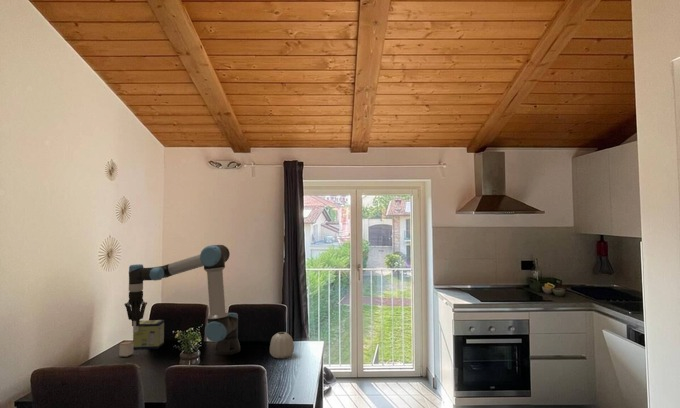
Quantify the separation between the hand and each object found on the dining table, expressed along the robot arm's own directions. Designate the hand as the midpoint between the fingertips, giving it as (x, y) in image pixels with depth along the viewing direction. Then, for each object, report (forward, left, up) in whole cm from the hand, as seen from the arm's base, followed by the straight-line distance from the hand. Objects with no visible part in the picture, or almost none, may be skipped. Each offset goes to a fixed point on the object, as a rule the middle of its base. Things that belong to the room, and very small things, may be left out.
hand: (135, 331), depth 226 cm
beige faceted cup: (+5, 0, -13) cm, 14 cm away
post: (+6, 0, -14) cm, 15 cm away
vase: (-85, -7, -14) cm, 87 cm away
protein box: (+4, -20, -15) cm, 25 cm away
